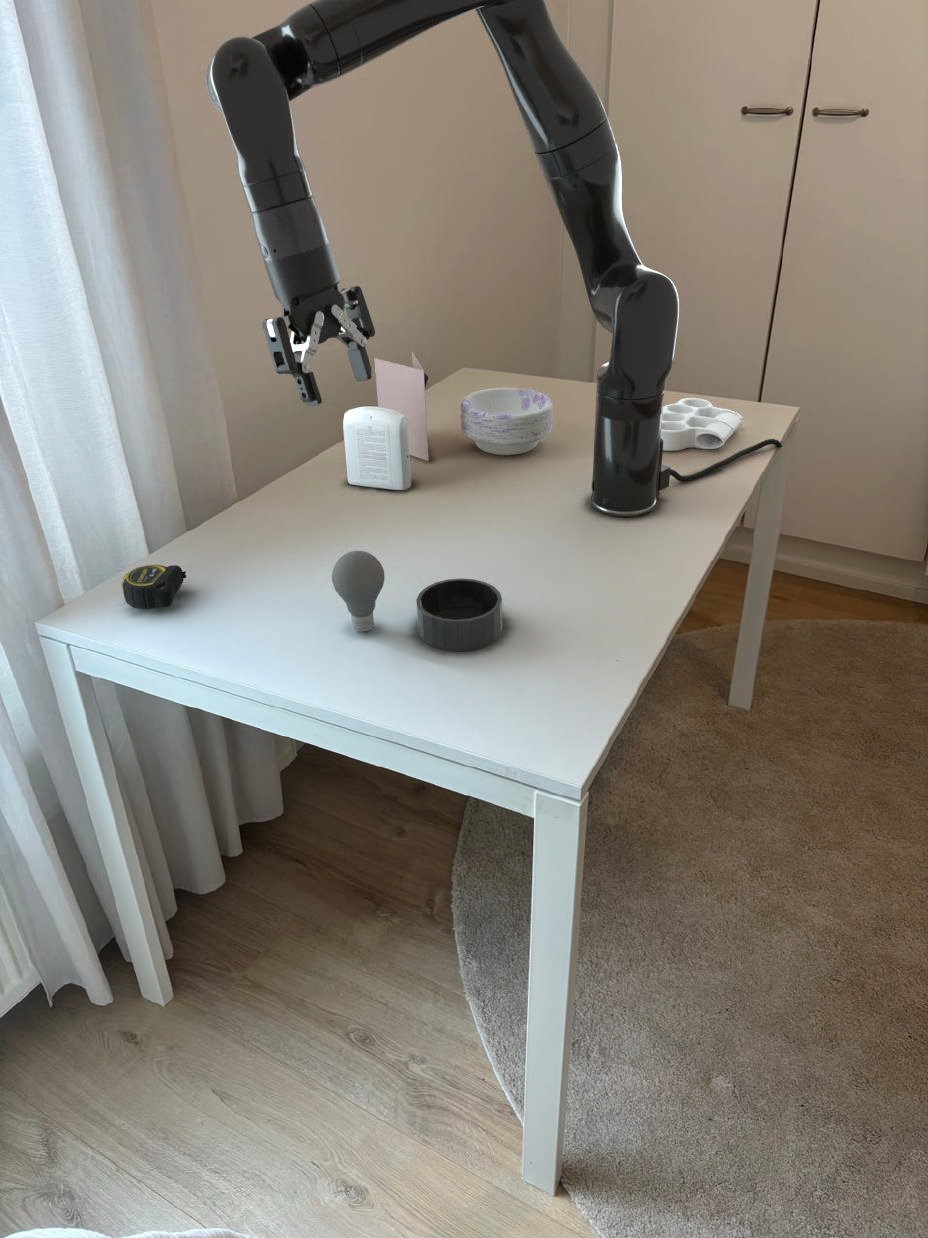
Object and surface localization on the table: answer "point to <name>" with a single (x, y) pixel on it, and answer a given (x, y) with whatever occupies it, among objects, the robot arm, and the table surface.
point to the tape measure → (152, 586)
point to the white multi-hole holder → (697, 425)
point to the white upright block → (377, 448)
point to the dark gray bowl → (459, 614)
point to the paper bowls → (506, 419)
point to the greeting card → (405, 399)
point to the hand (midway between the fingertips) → (340, 391)
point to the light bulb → (359, 586)
